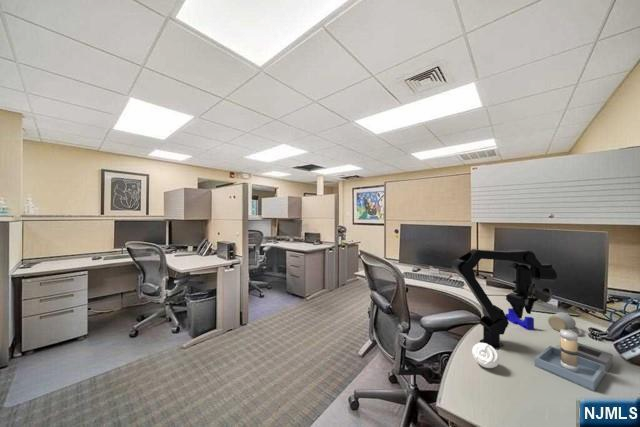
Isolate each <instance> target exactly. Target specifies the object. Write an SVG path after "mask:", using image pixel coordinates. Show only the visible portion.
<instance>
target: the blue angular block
mask: <svg viewBox="0 0 640 427" xmlns="http://www.w3.org/2000/svg"><path fill="white" fill-rule="evenodd" d="M507 312H508V313H505V316H506V317H507V318H509V319H507V320H508V322H509V323H512V324H513V325H518V326H520V327H522V329H525V330H527V331H535V319H534V317H532V316H524V319H523V320H522V318H521V319H520V318H518V317H517V315H516V313H515V311H514V309H513V308H512V307H511V308H510V307H509V308H508V310H507Z"/></svg>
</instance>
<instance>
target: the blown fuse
mask: <svg viewBox="0 0 640 427" xmlns="http://www.w3.org/2000/svg"><path fill="white" fill-rule="evenodd" d="M572 331H573V330H572ZM572 331H569V330H564V329H561V330H560V331H559V333H560V334H559V336H560V350H561V367H562V368H564V369H566V370H569V371H571V372H574V373H577V372H578V358H577V355H578V351H577V343H578V339H579V338H578V337H579V336H578V335H577V333H578V332H576V333H575V331H574V332H572Z"/></svg>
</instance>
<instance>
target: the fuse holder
mask: <svg viewBox="0 0 640 427" xmlns="http://www.w3.org/2000/svg"><path fill="white" fill-rule="evenodd" d="M577 351H578V355H577V356H580V357H582V358H585V359H588V360H591V361H594V362H596V363H599V364H602V365H605V373H608V371H609V370H610V368H612V365H613V364H614V360H613V358H614V357H613V354H612V353H610V352H606V351H604V350H601V349H597V348H596V347H592V346H589V345H585V344H582V343H579V342H577Z"/></svg>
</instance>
